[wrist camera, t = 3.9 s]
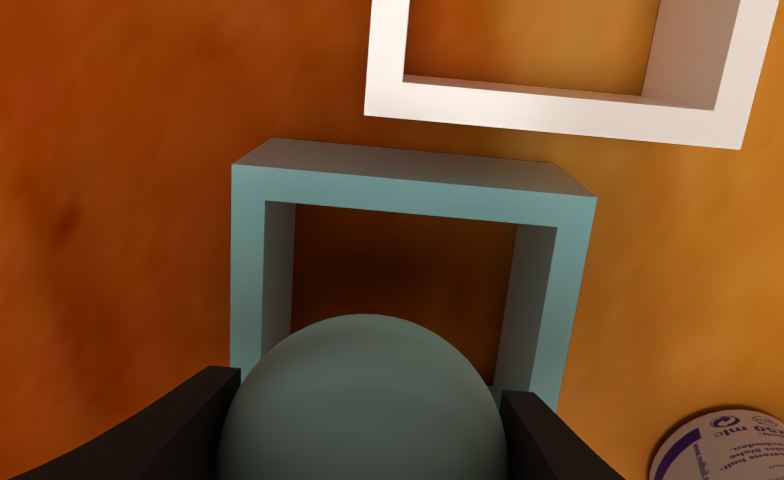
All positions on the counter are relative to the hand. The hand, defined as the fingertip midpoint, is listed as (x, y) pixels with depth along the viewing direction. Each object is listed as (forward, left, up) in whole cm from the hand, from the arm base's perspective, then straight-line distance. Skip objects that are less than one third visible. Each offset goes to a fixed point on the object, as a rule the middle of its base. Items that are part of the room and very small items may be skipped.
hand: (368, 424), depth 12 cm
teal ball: (0, 0, +1) cm, 1 cm away
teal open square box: (0, 0, -8) cm, 8 cm away
